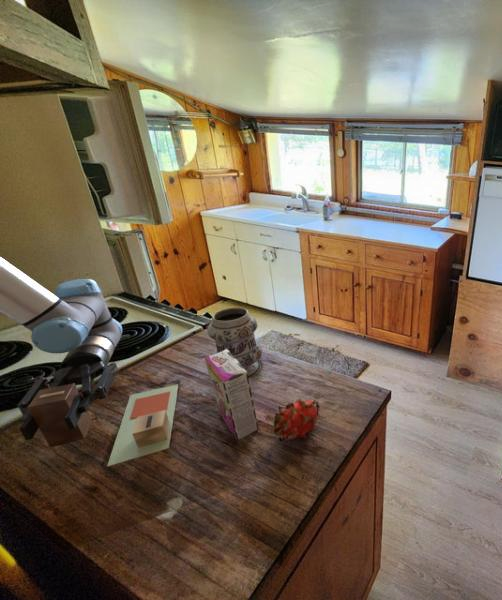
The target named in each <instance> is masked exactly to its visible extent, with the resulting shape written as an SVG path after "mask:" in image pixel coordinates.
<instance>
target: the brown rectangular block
mask: <svg viewBox="0 0 502 600" xmlns="http://www.w3.org/2000/svg"><path fill="white" fill-rule="evenodd" d="M78 395H81V394H80V392H79V390H78V387H77V385H76V386H75V384H74V383H73V384H68V385H63V386H58V387H53V388H48V389H43V390H39V392H38V393H37V395H36V396H35V398H34V399H33V400H32V402H31V403H30V405H29V406H28V409H29V411H30V413H31V414H32V416H33V418H34V420H35V422H36V423H37V425H38V427H39V428H38V430H39V431H40V432H41V434H42V436H43V438H44V439H45V441H46V443H47V444H48V446H49V448H54V447H58V446H62V445H67V444H70V443H73V442H77V441H82V440H85V439H86V437H87V434H88V432H89V430H90V428H91V425H92V423H93V419H92V418H91V416H90V414H89V411H87V412H84V413H82V415H81V417H80V419H79V421H78V423H77V425H76V427H75V428H74V429H70V430H69V428H68V426H67V424H66V422H65V420H64V417H65V415H66V414H67V412H68V410H69V408H70V406H71V405H72V403H73V401H74V399H75V397H76V396H78Z"/></svg>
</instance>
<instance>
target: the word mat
mask: <svg viewBox="0 0 502 600" xmlns="http://www.w3.org/2000/svg"><path fill="white" fill-rule="evenodd" d="M178 388H179V383H177V384H172V385H168V386H163V387H159V388H155V389H151V390H146V391H142V392H137V393H134V394H130V395H129V398H128V401H127V404H126V407H125V410H124V413H123V417H122V420H121V422H120V426H119V429H118V432H117V435H116V438H115V440H114V444H113V447H112V450H111V453H110V456H109V459H108V462H107V465H106V467H107V468H108V467H110V466H114V465H117V464H121V463H123V462H128V461H131V460H134V459H137V458H141V457H144V456H147V455H150V454H151V455H152V454H154V453H158V452H160V451H161V452H162V451H164V450H167V449H170V443H171V437H172V431H173V424H174V417H175V409H176V403H177V396H178V395H177V394H178V391H179V390H178ZM163 410H165V411H166V414H167V416H168V419H169V422H170V426H169V432H168V439H167V440H165V441H161V442H158V443H154V444H151V445H147V446H144V447H140V448H138V446H137V444H136V441H135V439H134V437H133V434H132V433H133V430H134V426H135V423H136V419H137V417H139V416H143V415H147V414H151V413H155V412H159V411H163Z"/></svg>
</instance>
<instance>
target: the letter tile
mask: <svg viewBox="0 0 502 600" xmlns="http://www.w3.org/2000/svg"><path fill="white" fill-rule="evenodd" d="M169 426H170V422H169V419H168V416H167V414H166V411H165V410H163V411H159V412H155V413H151V414H147V415H143V416H139V417H137V419H136V423H135V426H134V430H133V433H132V434H133V437H134V439H135V441H136V444H137V446H138V448H140V447H144V446H147V445H151V444H154V443H158V442H161V441H165V440H167V439H168V432H169Z"/></svg>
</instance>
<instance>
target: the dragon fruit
mask: <svg viewBox="0 0 502 600" xmlns="http://www.w3.org/2000/svg"><path fill="white" fill-rule="evenodd" d="M319 411H320V404H319V402H318V401H317V400H315V399H314V398H311V399H308V400H302V398H298V399H297V400H296V401H295V402H294V401H292V402H288V404H286V406H285V407H284V406H281V405H280V406H278V412H275V415H274V420H273V424H272V425H273V427H274V429H273V433H274V435H276V436H278V441H279V442H285V441H294V439H295V438H299V439H303V440H305V439H306V438H307V433H309V432H310V431H311V430H313V429H314V427H315V425H316V423H317V421H318V419H319V418H320V414H319V413H320V412H319Z"/></svg>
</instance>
